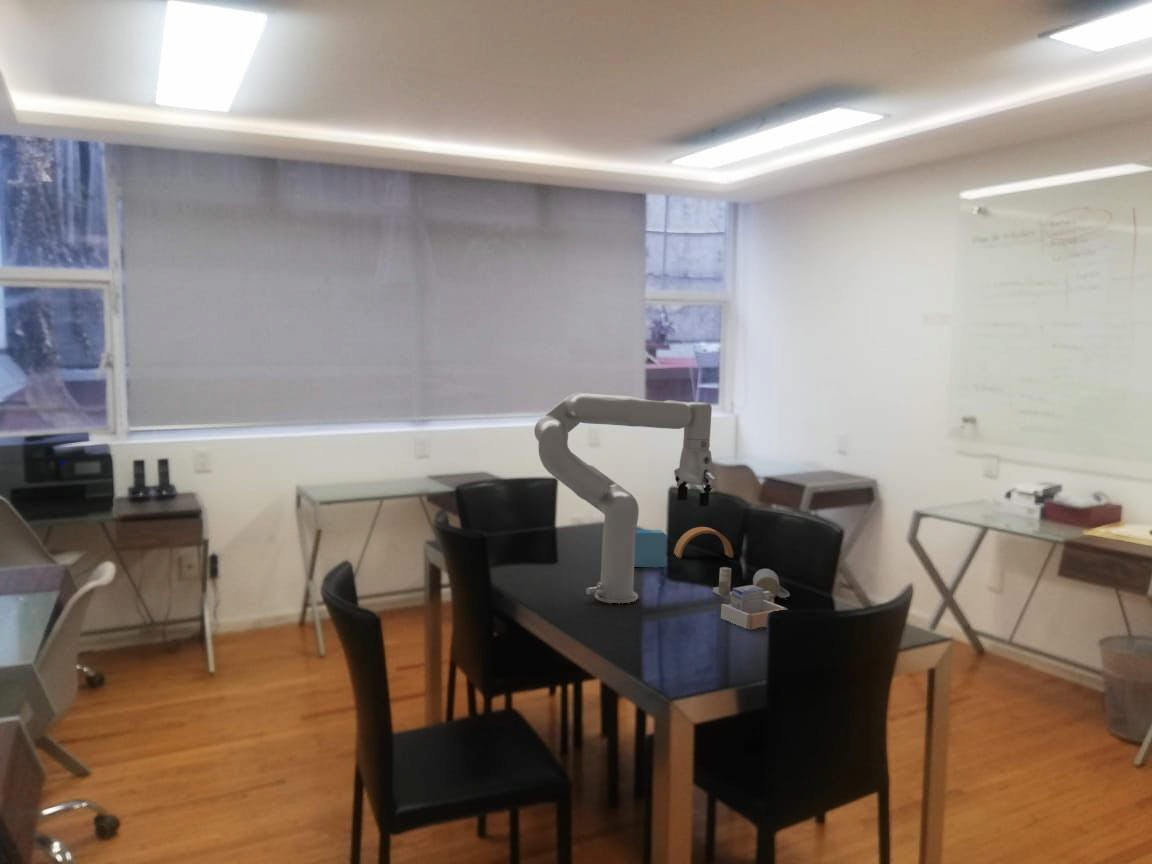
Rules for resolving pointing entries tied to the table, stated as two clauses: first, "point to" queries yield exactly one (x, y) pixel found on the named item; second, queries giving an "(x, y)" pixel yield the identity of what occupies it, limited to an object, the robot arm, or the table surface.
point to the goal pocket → (749, 615)
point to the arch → (696, 531)
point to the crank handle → (726, 581)
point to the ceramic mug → (769, 583)
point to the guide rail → (716, 590)
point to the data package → (650, 548)
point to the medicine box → (747, 599)
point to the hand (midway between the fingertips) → (692, 502)
